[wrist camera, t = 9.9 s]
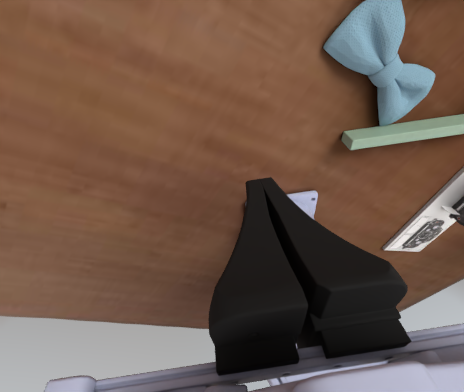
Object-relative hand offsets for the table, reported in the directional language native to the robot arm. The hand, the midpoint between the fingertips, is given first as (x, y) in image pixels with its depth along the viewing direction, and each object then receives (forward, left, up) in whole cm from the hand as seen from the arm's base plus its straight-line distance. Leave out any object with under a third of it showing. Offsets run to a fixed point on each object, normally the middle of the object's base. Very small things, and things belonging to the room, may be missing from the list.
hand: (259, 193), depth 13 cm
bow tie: (+3, -11, -10) cm, 15 cm away
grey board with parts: (-17, -26, -10) cm, 32 cm away
